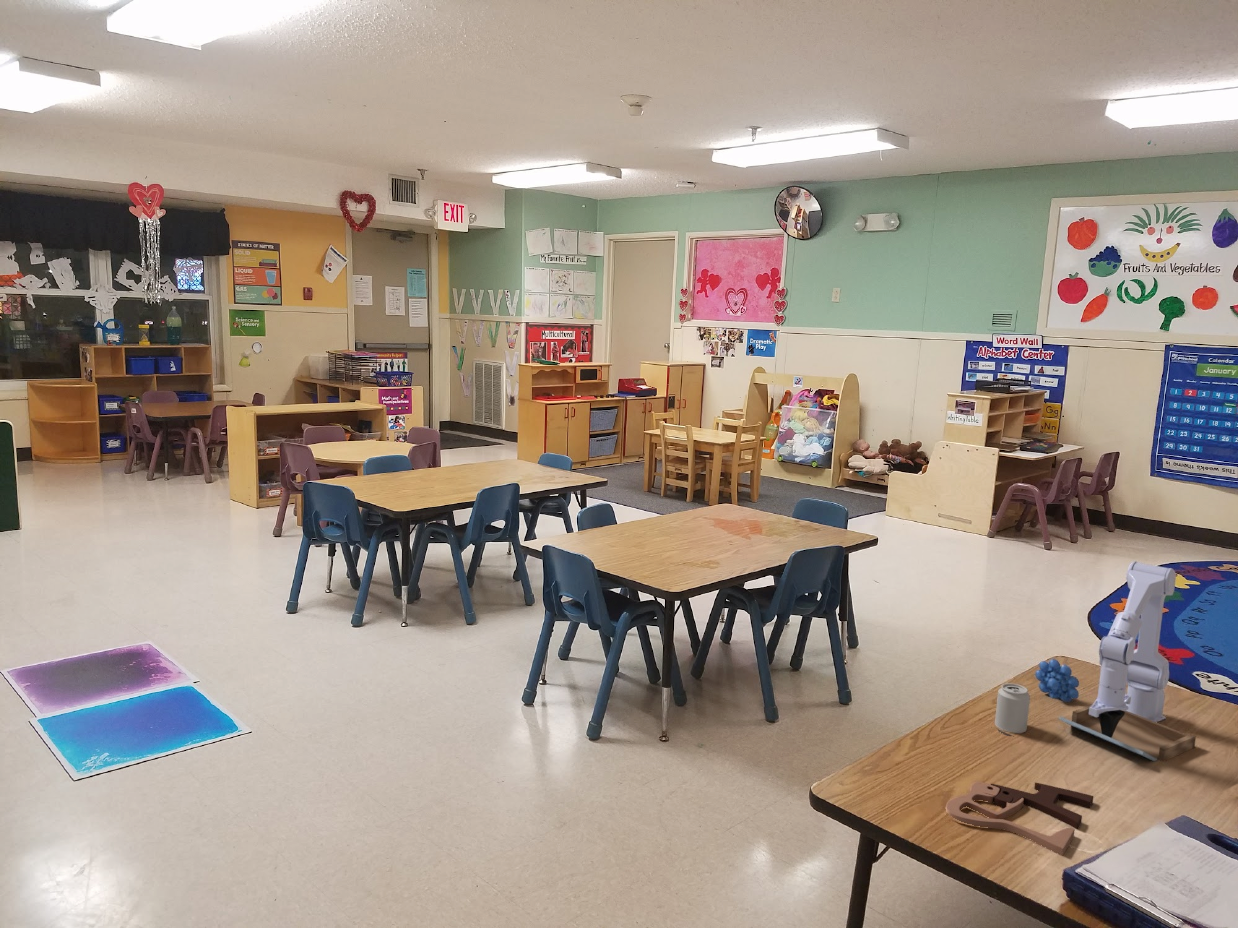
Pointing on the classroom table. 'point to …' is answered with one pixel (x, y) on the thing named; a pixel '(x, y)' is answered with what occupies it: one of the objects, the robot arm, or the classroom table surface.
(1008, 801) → the wood carving
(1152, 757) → the panel
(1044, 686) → the grapes
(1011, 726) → the can
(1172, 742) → the tray
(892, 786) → the classroom table surface
